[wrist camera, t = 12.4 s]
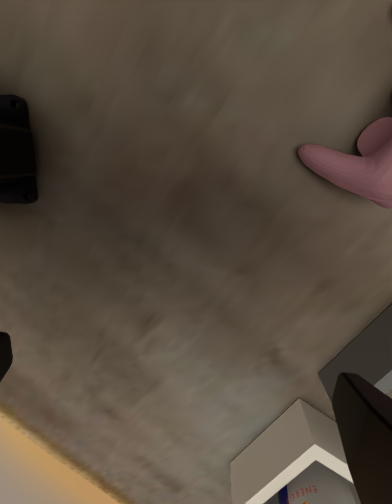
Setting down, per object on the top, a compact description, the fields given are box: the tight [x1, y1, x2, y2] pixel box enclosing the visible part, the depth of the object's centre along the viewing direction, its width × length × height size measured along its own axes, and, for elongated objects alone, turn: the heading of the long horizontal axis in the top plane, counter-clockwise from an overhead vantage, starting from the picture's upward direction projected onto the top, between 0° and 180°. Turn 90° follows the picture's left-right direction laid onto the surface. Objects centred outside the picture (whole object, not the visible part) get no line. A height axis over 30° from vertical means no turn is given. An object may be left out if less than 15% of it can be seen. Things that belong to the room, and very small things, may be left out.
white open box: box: [230, 398, 361, 504], centre depth 24 cm, size 9×9×4 cm
